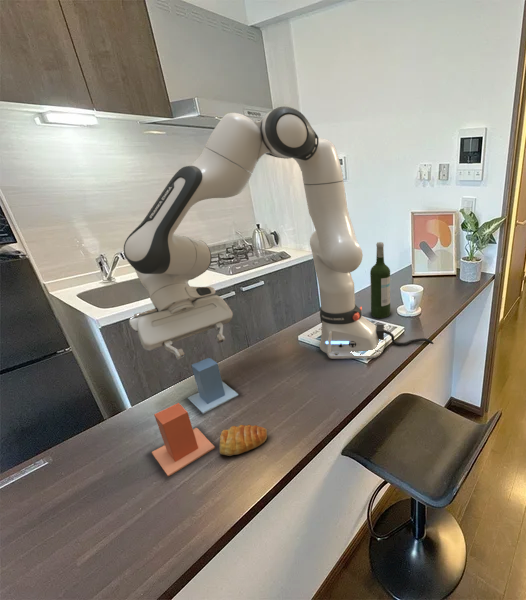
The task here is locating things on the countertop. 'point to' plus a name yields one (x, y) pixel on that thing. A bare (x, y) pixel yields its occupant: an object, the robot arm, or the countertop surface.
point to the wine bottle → (380, 285)
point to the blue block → (208, 380)
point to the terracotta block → (176, 431)
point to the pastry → (241, 439)
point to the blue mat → (207, 407)
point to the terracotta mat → (172, 466)
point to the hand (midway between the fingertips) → (202, 349)
